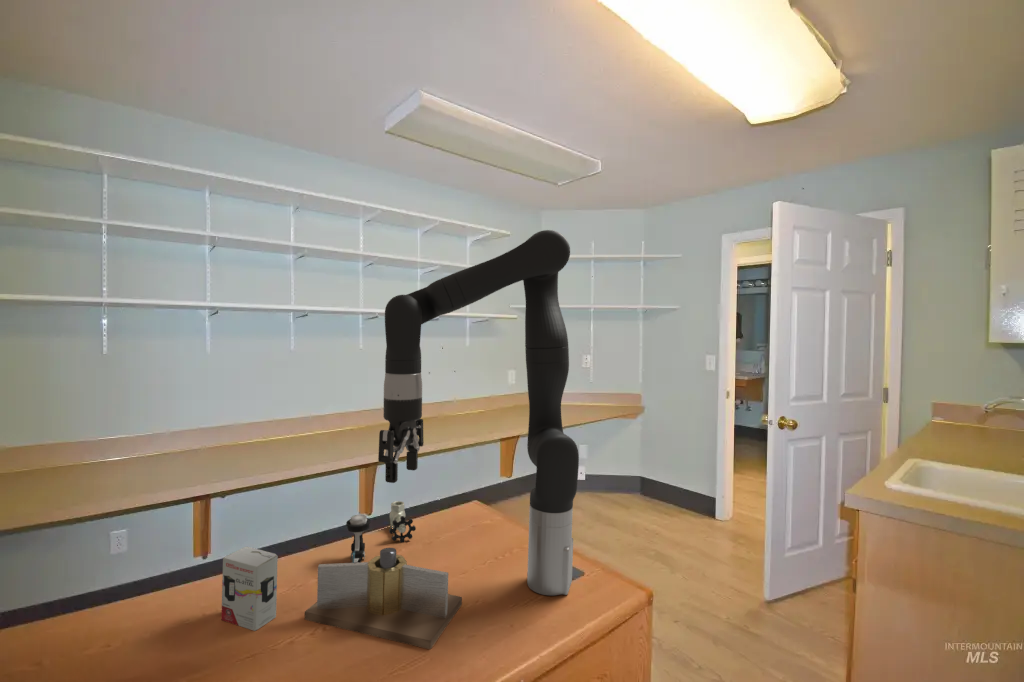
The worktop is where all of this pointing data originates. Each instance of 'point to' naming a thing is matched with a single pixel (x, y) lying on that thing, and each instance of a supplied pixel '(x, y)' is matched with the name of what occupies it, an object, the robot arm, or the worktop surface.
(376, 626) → the board
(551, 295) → the robot arm
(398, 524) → the valve
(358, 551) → the push button
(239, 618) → the ink box
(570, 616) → the worktop surface
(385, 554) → the hinge pin
